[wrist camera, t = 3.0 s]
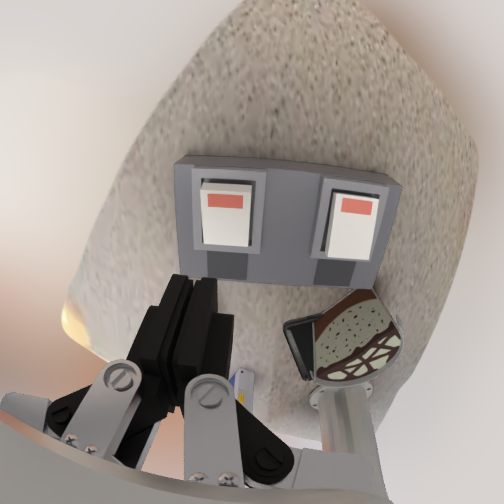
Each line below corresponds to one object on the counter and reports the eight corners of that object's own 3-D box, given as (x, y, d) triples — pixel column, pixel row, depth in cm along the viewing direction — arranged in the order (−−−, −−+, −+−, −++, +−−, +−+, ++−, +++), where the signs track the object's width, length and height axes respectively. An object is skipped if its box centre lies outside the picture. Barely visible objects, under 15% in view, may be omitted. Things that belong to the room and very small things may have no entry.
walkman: (237, 391, 47) (232, 448, 37) (223, 387, 47) (216, 444, 37) (255, 371, 44) (252, 435, 33) (240, 367, 43) (234, 431, 33)
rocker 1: (248, 238, 26) (248, 247, 25) (206, 235, 26) (203, 244, 25) (252, 185, 22) (251, 193, 21) (203, 182, 22) (199, 190, 21)
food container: (329, 343, 40) (340, 399, 31) (303, 325, 38) (311, 384, 29) (396, 296, 35) (423, 350, 26) (375, 271, 33) (403, 328, 24)
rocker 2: (364, 255, 25) (368, 260, 24) (324, 252, 25) (327, 257, 24) (373, 197, 23) (379, 199, 22) (332, 191, 23) (336, 193, 22)
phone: (303, 381, 44) (281, 326, 37) (302, 376, 45) (280, 320, 38) (348, 371, 42) (338, 312, 35) (346, 366, 43) (336, 307, 36)
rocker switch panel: (362, 269, 32) (374, 294, 28) (189, 257, 33) (178, 282, 28) (386, 174, 26) (407, 190, 22) (185, 155, 26) (170, 167, 22)
